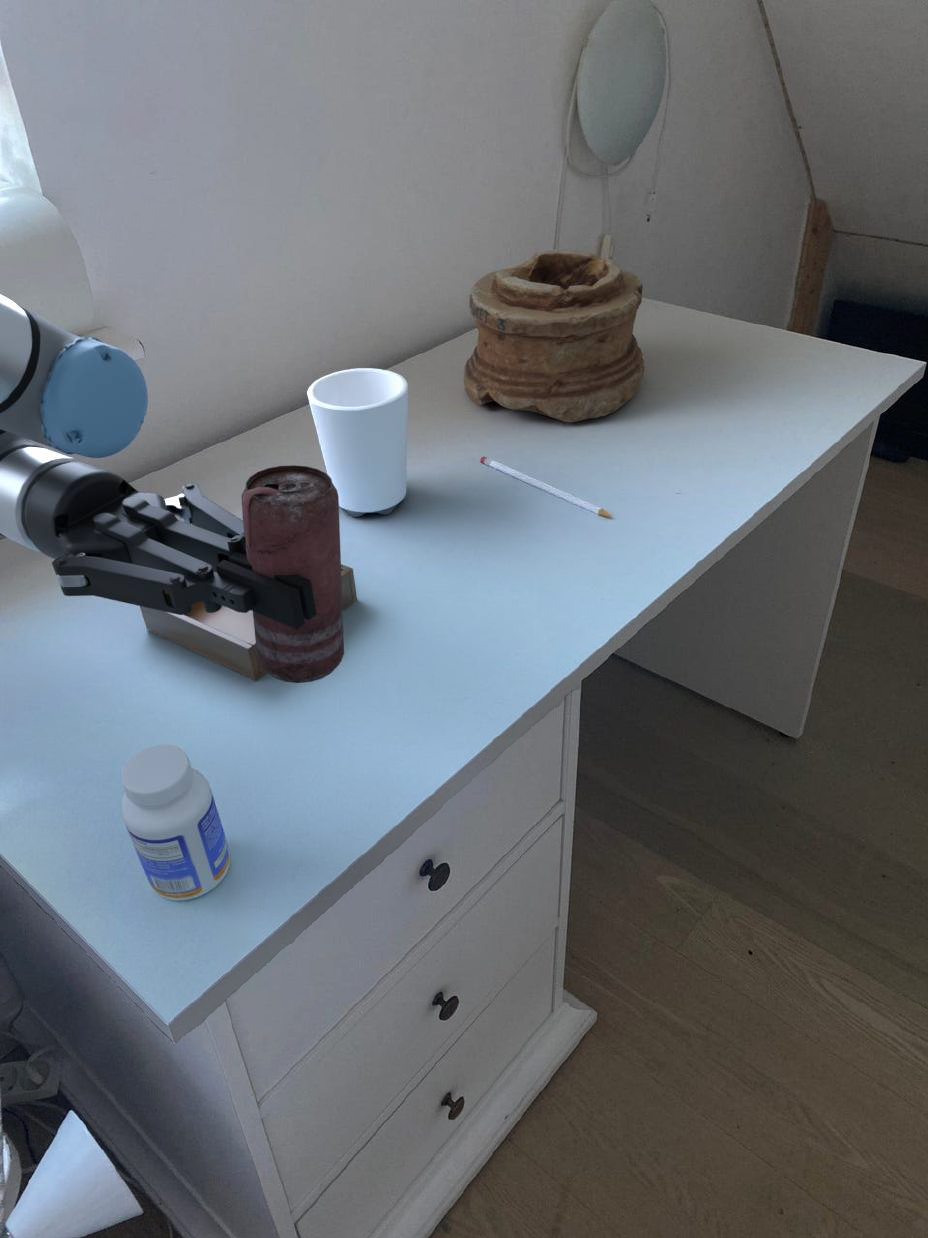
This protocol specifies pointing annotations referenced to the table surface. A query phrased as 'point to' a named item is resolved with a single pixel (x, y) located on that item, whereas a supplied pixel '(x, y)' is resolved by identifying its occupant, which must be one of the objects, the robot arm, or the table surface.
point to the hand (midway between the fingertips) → (303, 604)
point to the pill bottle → (173, 823)
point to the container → (556, 336)
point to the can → (297, 566)
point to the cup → (363, 436)
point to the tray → (223, 631)
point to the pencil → (545, 487)
